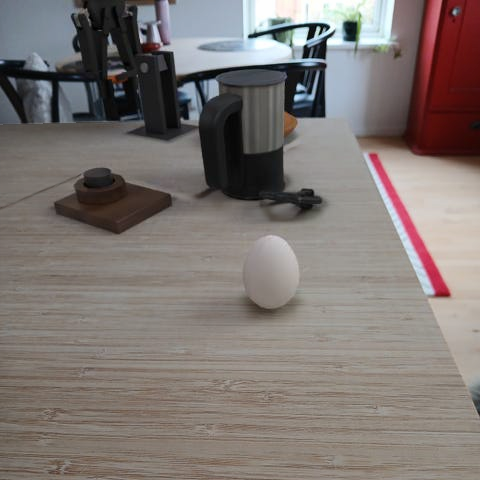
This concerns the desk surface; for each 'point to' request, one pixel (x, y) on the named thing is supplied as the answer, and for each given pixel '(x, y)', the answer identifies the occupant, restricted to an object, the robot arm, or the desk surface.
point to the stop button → (98, 177)
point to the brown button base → (112, 204)
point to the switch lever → (131, 73)
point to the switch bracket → (159, 98)
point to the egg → (270, 272)
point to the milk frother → (248, 138)
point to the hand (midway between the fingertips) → (122, 112)
